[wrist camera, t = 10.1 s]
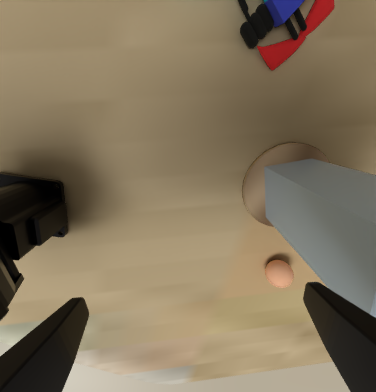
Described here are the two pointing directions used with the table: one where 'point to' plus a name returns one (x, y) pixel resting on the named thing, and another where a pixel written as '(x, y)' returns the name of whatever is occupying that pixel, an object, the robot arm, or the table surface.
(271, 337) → the table surface
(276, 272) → the ball
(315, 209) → the pale blue box
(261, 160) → the coaster
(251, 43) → the toy figure
